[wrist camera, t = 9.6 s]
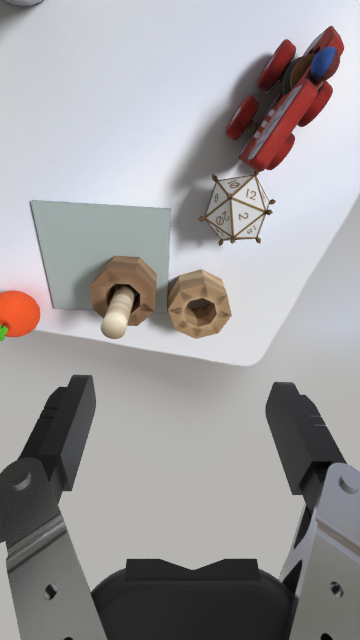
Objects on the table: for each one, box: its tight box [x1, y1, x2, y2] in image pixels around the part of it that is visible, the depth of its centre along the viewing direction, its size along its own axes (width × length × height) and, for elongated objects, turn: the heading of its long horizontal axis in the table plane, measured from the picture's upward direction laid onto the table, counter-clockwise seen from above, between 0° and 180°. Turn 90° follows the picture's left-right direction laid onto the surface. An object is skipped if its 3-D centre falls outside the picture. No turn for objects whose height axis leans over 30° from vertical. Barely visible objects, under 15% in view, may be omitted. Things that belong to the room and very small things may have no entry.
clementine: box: [0, 291, 40, 341], centre depth 41 cm, size 8×7×7 cm
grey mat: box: [31, 200, 171, 313], centre depth 40 cm, size 16×18×1 cm
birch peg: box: [101, 284, 136, 339], centre depth 36 cm, size 3×3×12 cm
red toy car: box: [226, 26, 344, 172], centre depth 26 cm, size 7×12×10 cm, turn 145°
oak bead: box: [168, 270, 232, 339], centre depth 41 cm, size 9×9×5 cm
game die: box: [198, 171, 276, 246], centre depth 33 cm, size 9×8×10 cm
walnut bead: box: [90, 256, 157, 326], centre depth 39 cm, size 9×9×5 cm
